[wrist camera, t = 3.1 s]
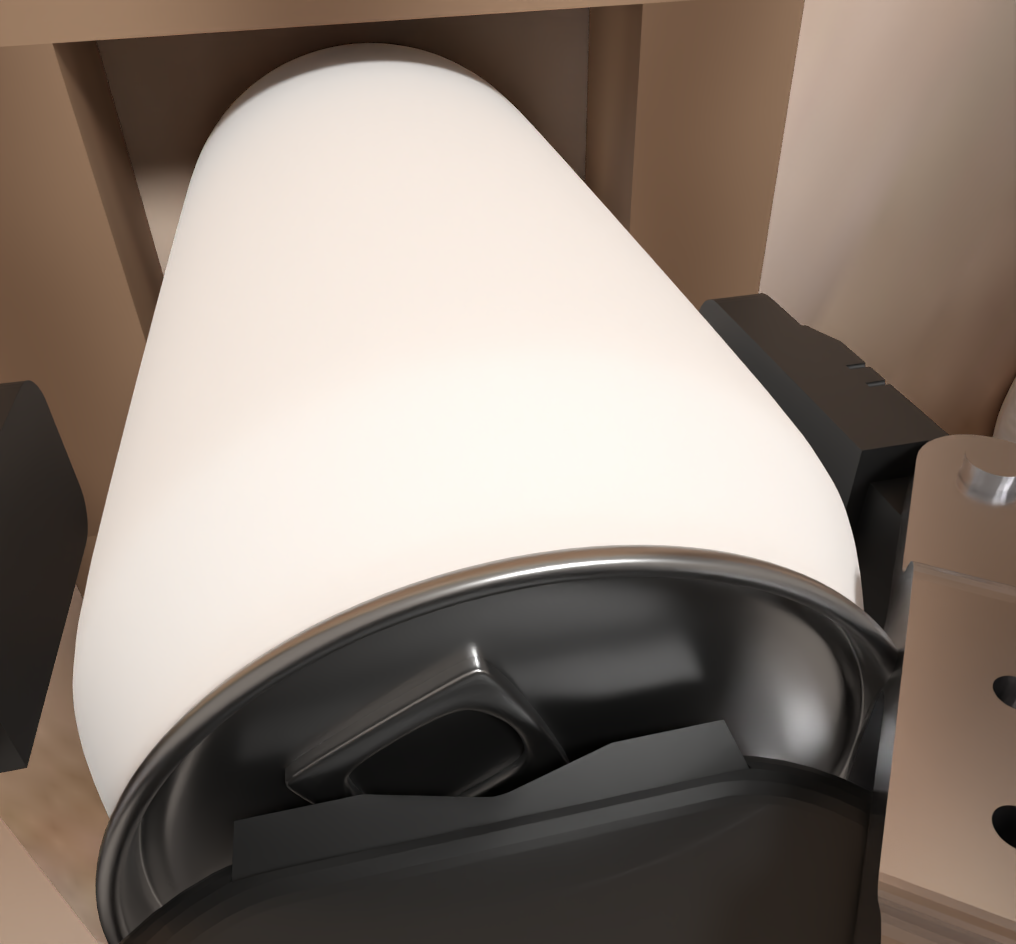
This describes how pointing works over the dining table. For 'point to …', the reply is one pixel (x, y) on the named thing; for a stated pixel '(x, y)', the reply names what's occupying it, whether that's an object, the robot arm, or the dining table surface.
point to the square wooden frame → (296, 3)
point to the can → (434, 489)
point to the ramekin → (1007, 417)
